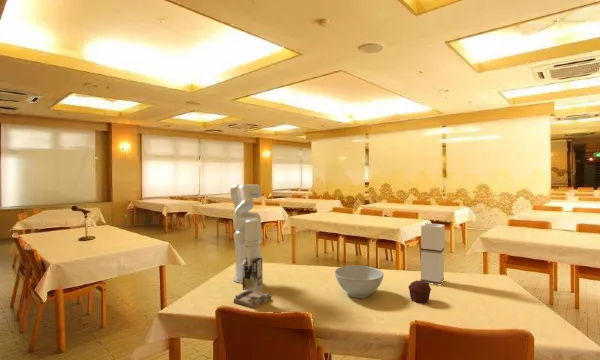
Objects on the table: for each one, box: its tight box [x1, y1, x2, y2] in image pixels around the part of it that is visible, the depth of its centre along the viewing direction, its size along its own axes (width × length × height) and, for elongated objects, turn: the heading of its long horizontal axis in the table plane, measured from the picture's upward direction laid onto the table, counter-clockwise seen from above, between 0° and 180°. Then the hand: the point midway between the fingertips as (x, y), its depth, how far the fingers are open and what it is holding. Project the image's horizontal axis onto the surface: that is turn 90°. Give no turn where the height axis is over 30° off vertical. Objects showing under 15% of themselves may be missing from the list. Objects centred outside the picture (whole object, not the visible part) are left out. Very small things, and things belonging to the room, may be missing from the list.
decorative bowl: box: [334, 264, 384, 299], centre depth 188 cm, size 27×27×12 cm
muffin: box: [408, 280, 432, 304], centre depth 178 cm, size 12×11×10 cm
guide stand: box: [233, 290, 272, 309], centre depth 178 cm, size 14×14×4 cm
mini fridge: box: [420, 222, 445, 284], centre depth 206 cm, size 11×11×35 cm
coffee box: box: [242, 257, 264, 292], centre depth 178 cm, size 9×6×16 cm
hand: (252, 276), depth 178 cm, fingers closed on coffee box, 7 cm apart
